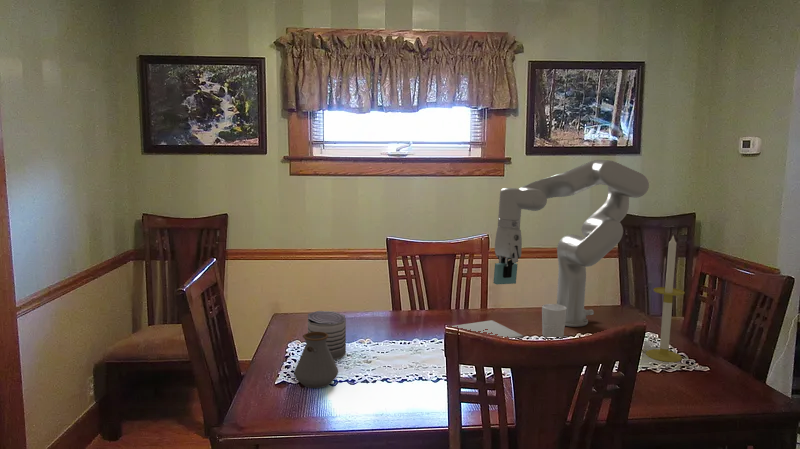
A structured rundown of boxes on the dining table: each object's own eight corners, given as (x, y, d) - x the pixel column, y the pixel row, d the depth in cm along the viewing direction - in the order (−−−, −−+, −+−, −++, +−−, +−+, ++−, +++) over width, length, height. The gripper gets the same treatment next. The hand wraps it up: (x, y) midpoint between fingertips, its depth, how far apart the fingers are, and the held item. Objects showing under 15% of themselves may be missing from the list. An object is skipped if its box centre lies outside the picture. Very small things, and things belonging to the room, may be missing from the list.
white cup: (567, 340, 188) (569, 310, 186) (543, 339, 188) (545, 310, 187) (561, 332, 196) (563, 303, 194) (538, 332, 196) (539, 303, 194)
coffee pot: (298, 373, 158) (297, 320, 156) (340, 373, 158) (339, 320, 156) (284, 408, 137) (283, 348, 135) (332, 409, 137) (332, 348, 135)
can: (323, 345, 181) (323, 307, 179) (353, 352, 175) (353, 313, 173) (299, 356, 171) (299, 317, 169) (330, 363, 165) (330, 323, 164)
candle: (685, 363, 169) (696, 237, 164) (649, 360, 171) (659, 235, 166) (676, 351, 179) (686, 232, 174) (642, 348, 181) (651, 230, 176)
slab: (512, 282, 203) (514, 262, 202) (515, 283, 201) (517, 263, 200) (493, 283, 199) (494, 263, 199) (496, 284, 198) (498, 264, 197)
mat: (491, 321, 206) (491, 320, 206) (522, 337, 190) (522, 335, 190) (445, 328, 198) (445, 326, 198) (474, 345, 182) (474, 343, 182)
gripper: (532, 227, 192) (527, 281, 194) (504, 221, 206) (501, 271, 208) (513, 227, 189) (509, 282, 191) (487, 221, 203) (483, 272, 205)
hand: (505, 276), depth 200 cm, fingers closed on slab, 1 cm apart
